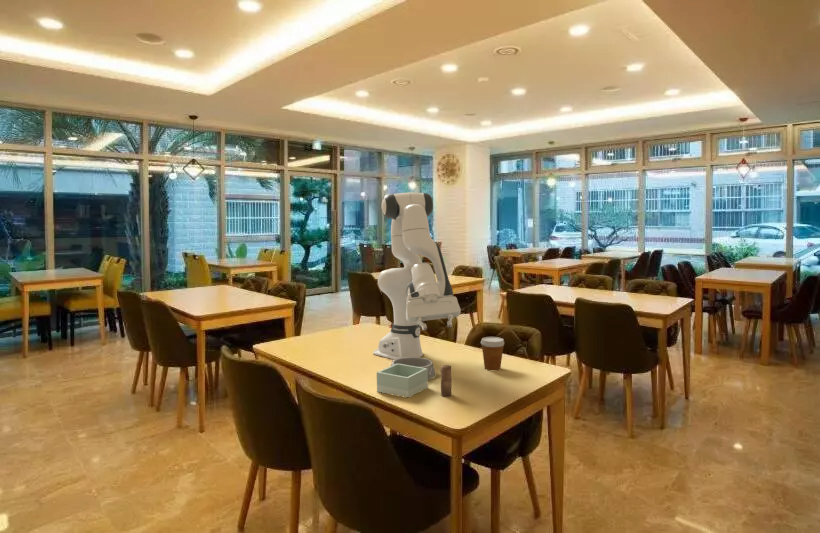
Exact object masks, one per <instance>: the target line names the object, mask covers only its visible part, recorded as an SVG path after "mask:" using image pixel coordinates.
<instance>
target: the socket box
mask: <svg viewBox="0 0 820 533" xmlns="http://www.w3.org/2000/svg"><path fill="white" fill-rule="evenodd" d="M428 381H429V380H428V370H427V368H422V367H416V366H410V365H404V364H398V363H397V364H395V365H392V366H391V365H390V366H388V367H386V368H383V369H380V370H379V371H376V392H377V393H381V392H382V393H381V394H385V393H388V394H387V395H390V394H393V395H392V396H395V395H399V396H398V397H400V396H404V397H409V398H411V397H413V396H415V395H417V394H418V392H419V393H420V392H422V391H423V390H426V389H428V383H429V382H428ZM416 393H417V394H416ZM414 394H415V395H414ZM412 395H413V396H412ZM410 396H411V397H410ZM404 397H403V398H404Z"/></svg>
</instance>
